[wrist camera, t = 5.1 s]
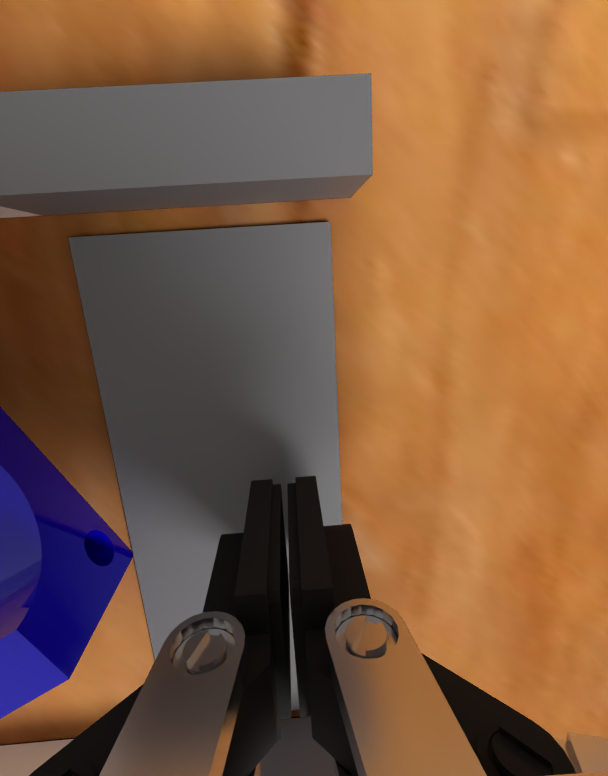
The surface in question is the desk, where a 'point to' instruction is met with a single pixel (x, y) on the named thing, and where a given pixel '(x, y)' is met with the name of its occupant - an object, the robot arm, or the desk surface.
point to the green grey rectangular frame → (200, 313)
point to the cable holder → (47, 571)
